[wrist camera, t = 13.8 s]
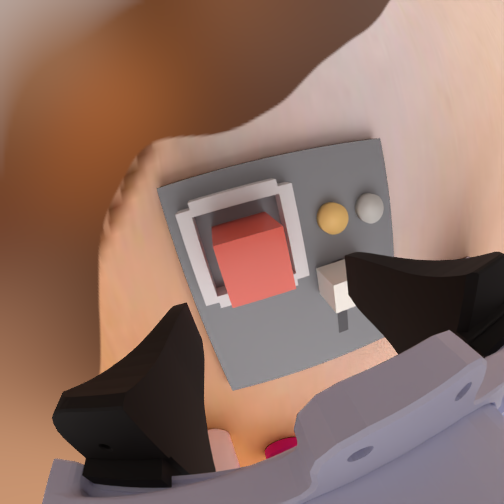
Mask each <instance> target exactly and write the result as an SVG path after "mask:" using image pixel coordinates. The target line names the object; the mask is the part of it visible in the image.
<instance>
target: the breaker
mask: <svg viewBox="0 0 504 504" xmlns="http://www.w3.org/2000/svg"><path fill="white" fill-rule="evenodd" d="M316 272H317V278H318V285H319V292H320V294H321V296H322V297H323V298H324V299H325V300H326V302H327V303H328V304H329V305H330V306H331V307H332V309H333V310H334V311H335V312H336V313H339V312H341V311H344V310H347V309H349V308H352V307H354V306H356V305H355V304H354V302H353V301H352V299H351V298H350V296H349V295H348V286H347V275H346V266H345V259H343V260H340V261H337V262H334V263H331V264H328V265H325V266H322V267H319V268H316Z"/></svg>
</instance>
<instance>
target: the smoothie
mask: <svg viewBox="0 0 504 504" xmlns="http://www.w3.org/2000/svg"><path fill="white" fill-rule="evenodd" d="M208 436H209V441H210V446H211V451H212V456H213V461H214V465H215V469H216V472H217V471H224V470H230V469H236V468H240V465H239V462H238V459H237V456H236V453H235V450H234V447H233V444H232V441H231V437H230V434H229V433H228V432H227V431H225V430H222V429H210V430H208Z"/></svg>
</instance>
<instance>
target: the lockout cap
mask: <svg viewBox="0 0 504 504" xmlns="http://www.w3.org/2000/svg"><path fill="white" fill-rule="evenodd" d="M211 228H212V242H213V249H214V252H215V255H216V258H217V262H218V265H219V268H220V271H221V274H222V277H223V280H224V283H225V286H226V290H227V293H228V296H229V299H230V302H231V305H232V308H235V307H238V306H242V305H245V304H249V303H252V302H255V301H259V300H262V299H265V298H269V297H272V296H275V295H278V294H281V293H285V292H288V291H291V290H294V289H296V285H295V280H294V275H293V270H292V265H291V261H290V256H289V251H288V247H287V242H286V237H285V233H284V228H283V226H282V225H281V224H280V223H278V222H277V221H276V220H275V219H273V218H272V217H271V216H270V215H268V214H267V213H266V212H261V213H258V214H254V215H250V216H247V217H243V218H240V219H236V220H233V221H229V222H226V223H222V224H219V225H216V226H212V227H211Z"/></svg>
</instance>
